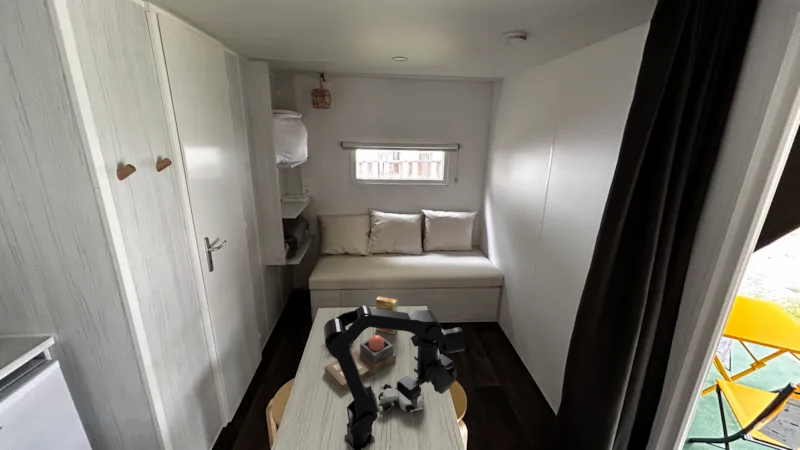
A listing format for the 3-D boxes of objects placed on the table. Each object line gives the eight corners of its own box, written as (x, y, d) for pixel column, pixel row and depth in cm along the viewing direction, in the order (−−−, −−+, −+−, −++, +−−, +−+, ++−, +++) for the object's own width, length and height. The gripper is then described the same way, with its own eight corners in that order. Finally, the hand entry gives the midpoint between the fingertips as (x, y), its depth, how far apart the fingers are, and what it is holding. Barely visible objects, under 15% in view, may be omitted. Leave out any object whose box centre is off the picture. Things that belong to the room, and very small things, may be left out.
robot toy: (377, 420, 105) (425, 418, 104) (376, 408, 104) (424, 406, 103) (380, 390, 117) (423, 388, 116) (379, 379, 115) (422, 377, 115)
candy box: (375, 330, 148) (375, 299, 144) (379, 325, 152) (379, 295, 147) (394, 334, 145) (394, 303, 141) (397, 329, 149) (398, 298, 145)
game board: (342, 391, 114) (341, 375, 113) (324, 372, 123) (323, 357, 121) (395, 360, 130) (395, 345, 128) (376, 345, 138) (376, 331, 136)
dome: (375, 357, 125) (374, 343, 124) (365, 349, 130) (365, 336, 128) (387, 350, 129) (387, 337, 127) (377, 343, 133) (377, 330, 132)
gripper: (425, 386, 83) (423, 435, 88) (471, 354, 95) (467, 398, 100) (395, 363, 91) (395, 409, 96) (441, 336, 103) (439, 378, 108)
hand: (425, 398), depth 100 cm, fingers open, 9 cm apart
